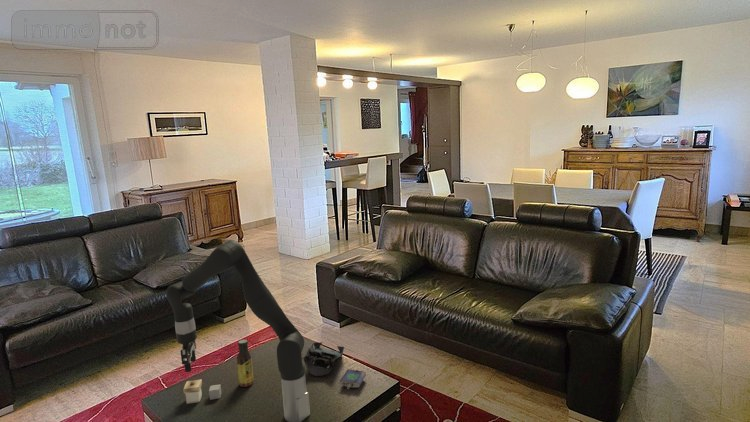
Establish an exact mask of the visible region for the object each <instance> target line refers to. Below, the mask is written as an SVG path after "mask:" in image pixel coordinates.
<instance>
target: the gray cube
mask: <svg viewBox="0 0 750 422" xmlns="http://www.w3.org/2000/svg"><path fill="white" fill-rule="evenodd" d="M208 396H209V400H210V401H211V400H216V399H217V400H218V399H220V398H221V396H222V386H221V384H213V385H210V386H209V389H208Z"/></svg>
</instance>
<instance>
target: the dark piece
mask: <svg viewBox="0 0 750 422" xmlns="http://www.w3.org/2000/svg"><path fill="white" fill-rule="evenodd" d="M322 344H323V342H313V343H312V344H311V346H310V347H309V348H308V349H307V352H306V353H305V355H304V356H302V361H303V362H304V364H305V365H304V366H305V367H306V370H307V371H308V373H309V374H310V375H312V376H315V377H318V376H322V377H323V376H325V375H328V374H330V373H331V372H332V369H333V366H334V365H336V364H337V359H339V358H341V357H343V354H344V349H345V346H340V345H337V346H336V347H337V349H338V351H336V350H334V349H330V348H324V347H321V346H322Z"/></svg>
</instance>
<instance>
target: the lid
mask: <svg viewBox="0 0 750 422" xmlns="http://www.w3.org/2000/svg"><path fill="white" fill-rule="evenodd" d="M202 385H203V379H201V378H200V379H195V380H187V381H186V382H185V384H184V387H183V389H182V391H183V394H185V393H192V392H199V391H200V388H201V389H202ZM185 395H186V394H185Z"/></svg>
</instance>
